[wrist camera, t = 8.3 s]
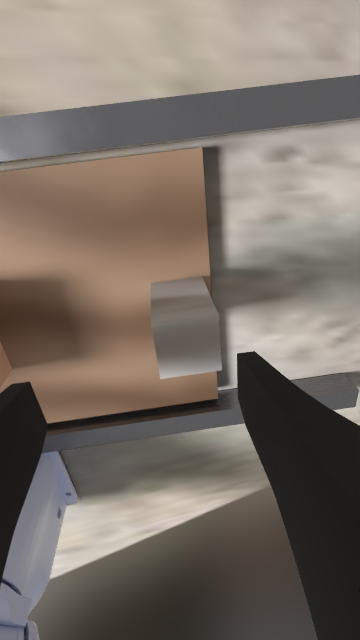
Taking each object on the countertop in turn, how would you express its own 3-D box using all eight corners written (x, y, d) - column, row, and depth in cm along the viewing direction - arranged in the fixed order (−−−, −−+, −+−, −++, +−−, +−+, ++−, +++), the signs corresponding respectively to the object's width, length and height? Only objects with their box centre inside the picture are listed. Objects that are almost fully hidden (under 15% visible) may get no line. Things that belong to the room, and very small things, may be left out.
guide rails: (340, 388, 25) (355, 406, 23) (12, 437, 24) (2, 459, 22) (397, 76, 15) (429, 66, 14) (-143, 140, 15) (-183, 138, 13)
